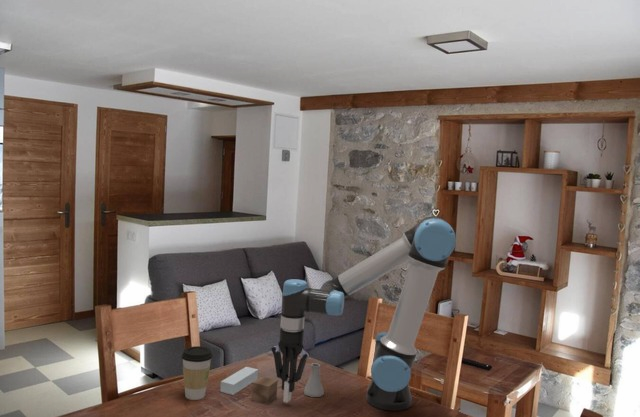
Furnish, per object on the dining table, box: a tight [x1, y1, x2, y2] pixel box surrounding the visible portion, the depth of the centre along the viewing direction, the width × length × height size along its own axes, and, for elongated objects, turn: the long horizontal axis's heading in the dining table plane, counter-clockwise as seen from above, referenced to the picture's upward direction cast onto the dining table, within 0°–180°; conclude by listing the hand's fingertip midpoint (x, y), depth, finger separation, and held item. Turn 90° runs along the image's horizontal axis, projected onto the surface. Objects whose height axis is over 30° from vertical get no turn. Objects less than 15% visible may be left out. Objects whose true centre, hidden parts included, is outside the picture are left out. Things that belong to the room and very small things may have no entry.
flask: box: [303, 362, 325, 398], centre depth 183 cm, size 7×7×10 cm
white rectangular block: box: [219, 366, 259, 396], centre depth 185 cm, size 5×16×4 cm, turn 156°
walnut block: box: [251, 376, 278, 406], centre depth 176 cm, size 6×6×6 cm
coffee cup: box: [181, 345, 213, 401], centre depth 174 cm, size 10×10×15 cm
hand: (287, 400), depth 173 cm, fingers closed
